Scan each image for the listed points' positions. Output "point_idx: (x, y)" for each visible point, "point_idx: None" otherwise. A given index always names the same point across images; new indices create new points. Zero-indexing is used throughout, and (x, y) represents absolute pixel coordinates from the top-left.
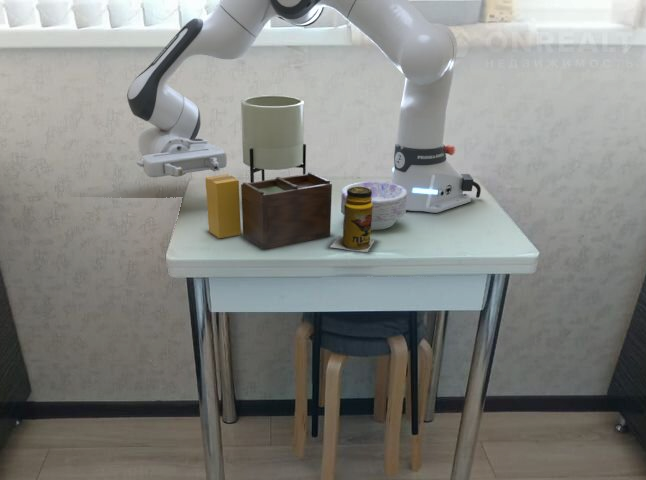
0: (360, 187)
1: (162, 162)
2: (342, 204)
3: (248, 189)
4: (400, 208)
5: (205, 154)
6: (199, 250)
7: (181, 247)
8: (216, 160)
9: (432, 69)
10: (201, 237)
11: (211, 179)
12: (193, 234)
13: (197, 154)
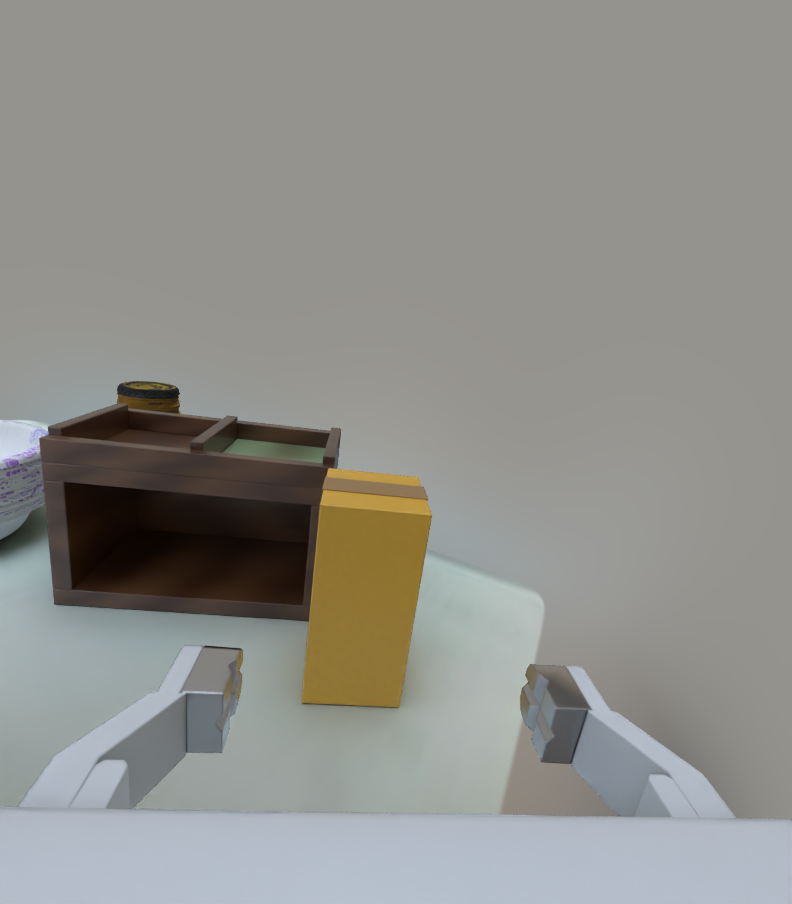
0: (127, 386)
1: (767, 819)
2: (10, 494)
3: (336, 456)
4: None
5: (125, 832)
6: (474, 608)
7: (522, 642)
8: (120, 716)
9: None
10: (444, 675)
11: (419, 493)
12: (465, 712)
13: (235, 888)
